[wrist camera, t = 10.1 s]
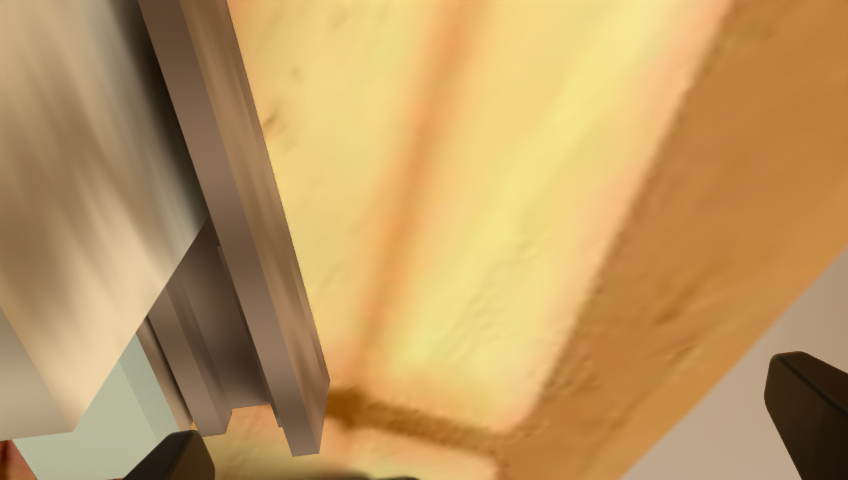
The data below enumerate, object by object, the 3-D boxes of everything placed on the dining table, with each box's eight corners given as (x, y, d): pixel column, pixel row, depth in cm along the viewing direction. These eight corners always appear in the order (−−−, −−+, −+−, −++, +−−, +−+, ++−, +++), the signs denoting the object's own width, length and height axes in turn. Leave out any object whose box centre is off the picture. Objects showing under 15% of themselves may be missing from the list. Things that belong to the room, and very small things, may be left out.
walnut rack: (330, 383, 26) (320, 457, 22) (61, 418, 26) (9, 495, 23) (208, -63, 18) (161, -57, 14) (-183, -4, 18) (-324, 16, 14)
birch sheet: (211, 212, 21) (72, 431, 12) (165, 218, 21) (-5, 441, 12) (126, -40, 17) (-171, 10, 8) (71, -31, 17) (-283, 26, 8)
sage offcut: (184, 440, 24) (172, 471, 22) (62, 456, 24) (42, 487, 23) (107, 270, 20) (86, 295, 19) (-38, 290, 20) (-69, 316, 19)
